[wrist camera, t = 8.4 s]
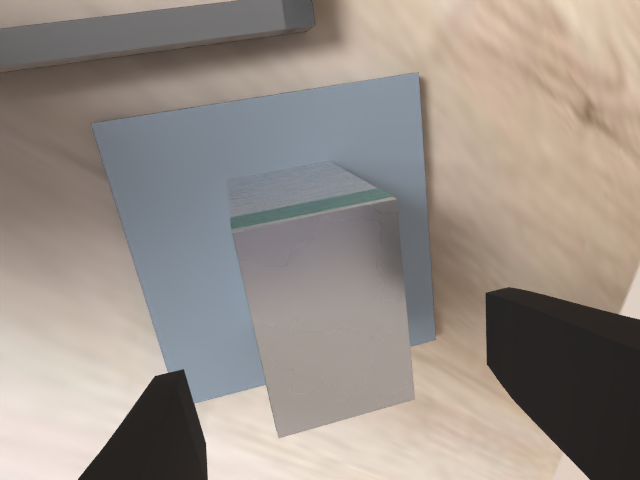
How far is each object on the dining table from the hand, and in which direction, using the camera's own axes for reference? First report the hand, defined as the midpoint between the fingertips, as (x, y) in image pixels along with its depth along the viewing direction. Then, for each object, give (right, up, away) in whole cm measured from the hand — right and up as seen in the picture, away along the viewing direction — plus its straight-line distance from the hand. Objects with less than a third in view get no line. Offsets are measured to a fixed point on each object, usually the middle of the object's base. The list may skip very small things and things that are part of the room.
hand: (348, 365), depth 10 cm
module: (-2, +3, +8) cm, 8 cm away
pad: (-2, +3, +8) cm, 9 cm away
